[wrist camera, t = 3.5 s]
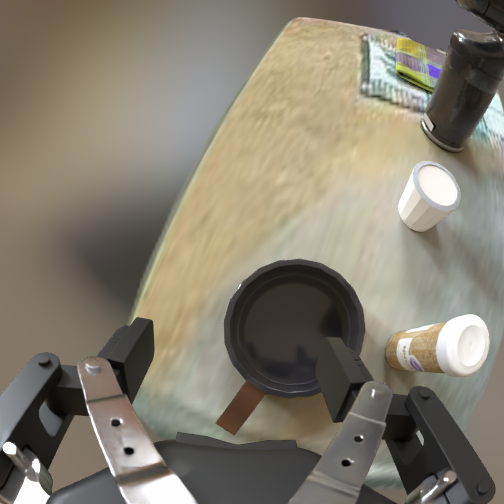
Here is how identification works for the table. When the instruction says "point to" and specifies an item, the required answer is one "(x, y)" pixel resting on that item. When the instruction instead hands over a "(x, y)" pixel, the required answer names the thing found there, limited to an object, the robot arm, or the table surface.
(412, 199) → the white cup
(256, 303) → the pan
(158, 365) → the table surface
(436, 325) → the sprinkles bottle
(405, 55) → the dish towel
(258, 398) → the pan handle
